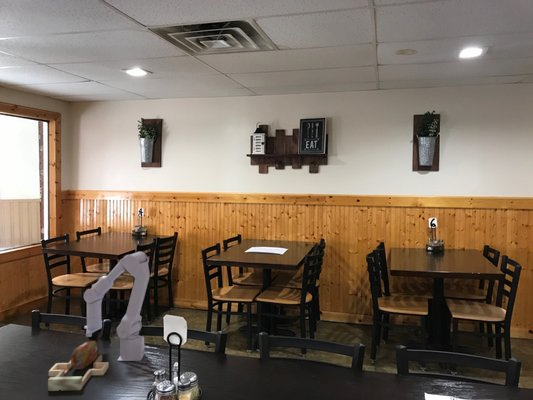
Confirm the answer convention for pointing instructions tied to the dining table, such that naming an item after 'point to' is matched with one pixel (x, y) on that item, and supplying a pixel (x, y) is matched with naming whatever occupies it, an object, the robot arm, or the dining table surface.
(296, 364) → the dining table surface
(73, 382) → the lane
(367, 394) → the dining table surface
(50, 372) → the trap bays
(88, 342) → the tin
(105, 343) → the dining table surface
